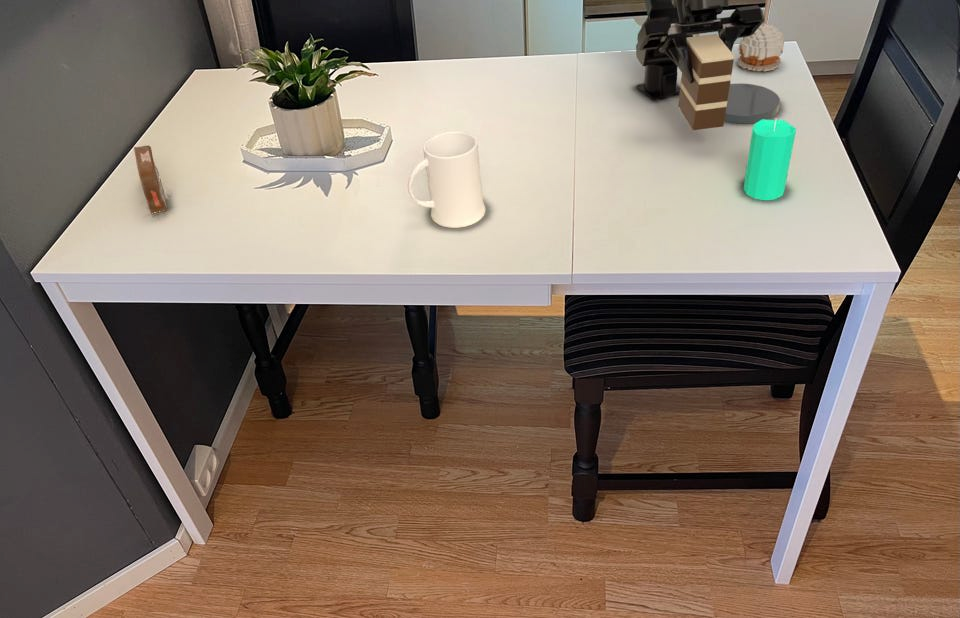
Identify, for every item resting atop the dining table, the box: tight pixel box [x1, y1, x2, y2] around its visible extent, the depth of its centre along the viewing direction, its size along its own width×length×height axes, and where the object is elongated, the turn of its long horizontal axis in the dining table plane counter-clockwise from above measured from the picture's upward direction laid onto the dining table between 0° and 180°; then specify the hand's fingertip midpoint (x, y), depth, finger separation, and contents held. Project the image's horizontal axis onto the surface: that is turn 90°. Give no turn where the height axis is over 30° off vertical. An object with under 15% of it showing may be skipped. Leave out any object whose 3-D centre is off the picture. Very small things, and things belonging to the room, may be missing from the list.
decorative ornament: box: [737, 0, 785, 72], centre depth 150 cm, size 8×8×15 cm
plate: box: [724, 83, 781, 124], centre depth 142 cm, size 13×13×2 cm
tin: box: [133, 145, 168, 215], centre depth 131 cm, size 15×3×8 cm, turn 23°
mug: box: [407, 131, 487, 229], centre depth 119 cm, size 12×8×12 cm
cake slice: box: [677, 33, 735, 131], centre depth 125 cm, size 8×5×12 cm, turn 7°
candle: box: [743, 117, 797, 201], centre depth 117 cm, size 6×6×12 cm
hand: (708, 80), depth 124 cm, fingers closed on cake slice, 5 cm apart
